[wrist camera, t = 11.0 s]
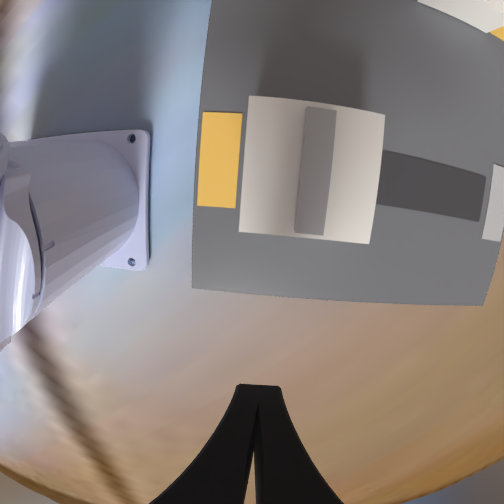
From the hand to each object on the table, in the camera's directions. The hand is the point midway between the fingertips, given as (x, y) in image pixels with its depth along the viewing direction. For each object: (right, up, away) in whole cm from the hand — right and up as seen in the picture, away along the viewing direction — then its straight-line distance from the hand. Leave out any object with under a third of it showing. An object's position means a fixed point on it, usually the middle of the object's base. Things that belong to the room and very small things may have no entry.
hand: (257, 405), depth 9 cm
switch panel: (+7, +15, +4) cm, 17 cm away
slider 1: (+2, +9, +4) cm, 10 cm away
